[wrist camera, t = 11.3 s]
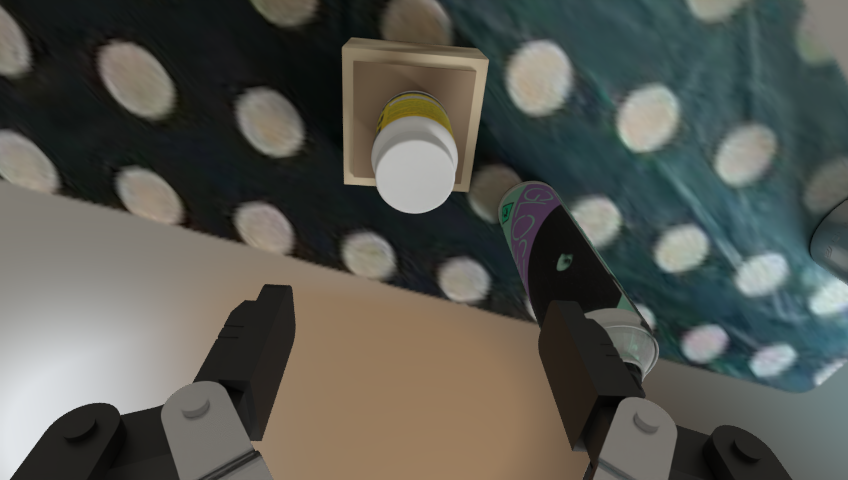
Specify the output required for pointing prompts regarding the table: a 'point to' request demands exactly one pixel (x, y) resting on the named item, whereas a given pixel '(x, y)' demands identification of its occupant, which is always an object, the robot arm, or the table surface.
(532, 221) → the spray can
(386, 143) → the supplement bottle
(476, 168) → the table surface
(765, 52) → the table surface
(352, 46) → the base block
